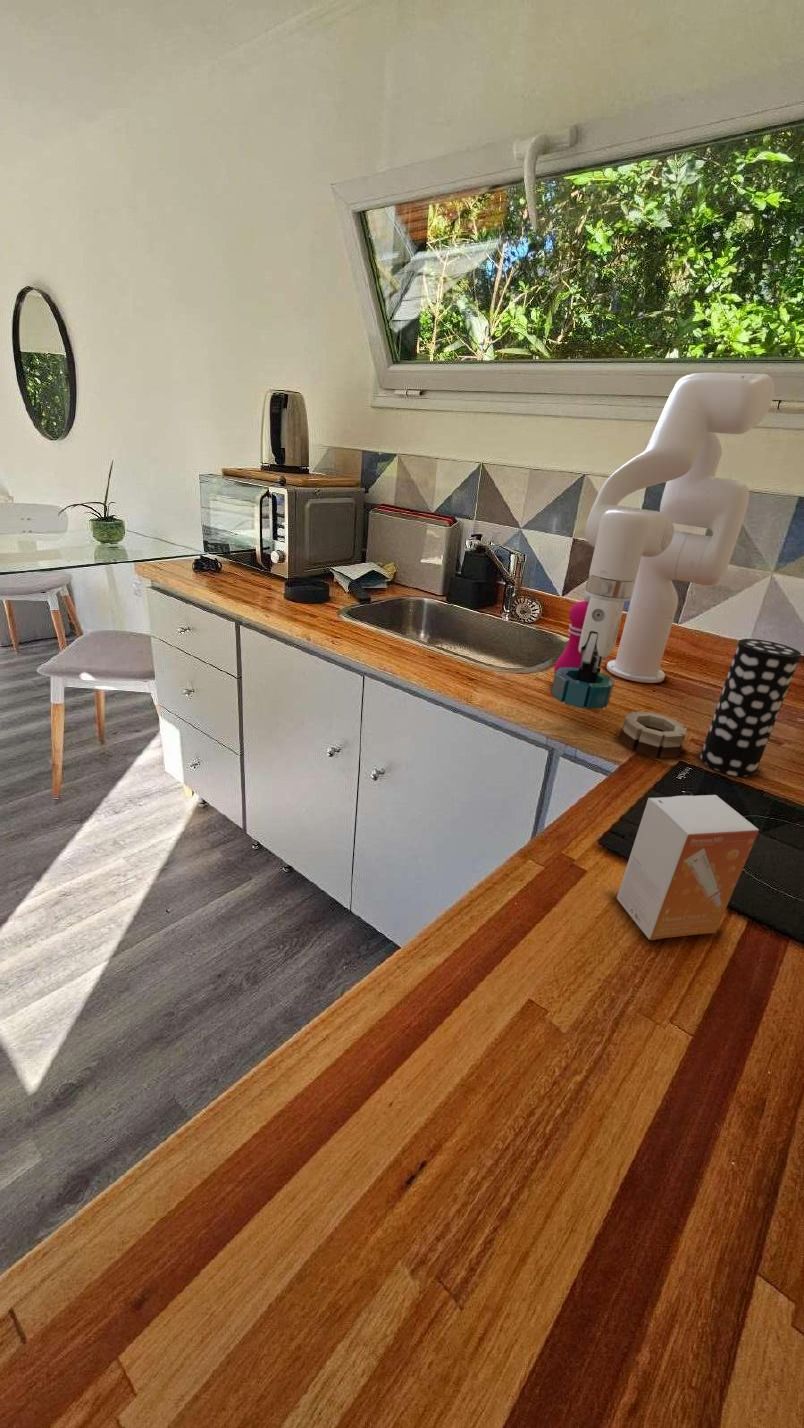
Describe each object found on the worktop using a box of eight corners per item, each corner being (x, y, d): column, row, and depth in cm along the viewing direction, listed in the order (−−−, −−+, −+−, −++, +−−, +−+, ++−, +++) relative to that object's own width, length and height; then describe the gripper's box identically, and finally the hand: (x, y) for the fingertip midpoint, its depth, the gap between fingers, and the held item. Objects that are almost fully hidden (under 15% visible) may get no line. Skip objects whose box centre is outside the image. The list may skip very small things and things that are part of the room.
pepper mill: (587, 699, 118) (611, 600, 110) (550, 693, 119) (571, 595, 111) (584, 687, 124) (607, 592, 116) (549, 681, 125) (569, 587, 117)
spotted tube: (750, 758, 100) (793, 645, 92) (760, 781, 93) (808, 660, 84) (697, 747, 102) (734, 635, 94) (703, 768, 95) (744, 649, 87)
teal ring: (559, 683, 110) (564, 663, 109) (612, 697, 106) (617, 676, 105) (545, 698, 102) (550, 677, 101) (602, 713, 99) (607, 691, 97)
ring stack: (625, 727, 107) (630, 706, 106) (681, 742, 103) (688, 721, 102) (615, 746, 99) (621, 725, 98) (676, 764, 96) (684, 741, 94)
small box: (649, 943, 59) (687, 834, 53) (614, 898, 64) (646, 796, 59) (718, 934, 61) (761, 829, 55) (678, 892, 66) (715, 792, 61)
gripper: (624, 599, 92) (597, 708, 99) (639, 585, 105) (613, 682, 112) (576, 590, 95) (553, 696, 102) (596, 577, 108) (574, 672, 115)
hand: (585, 688), depth 107 cm, fingers closed on teal ring, 2 cm apart
